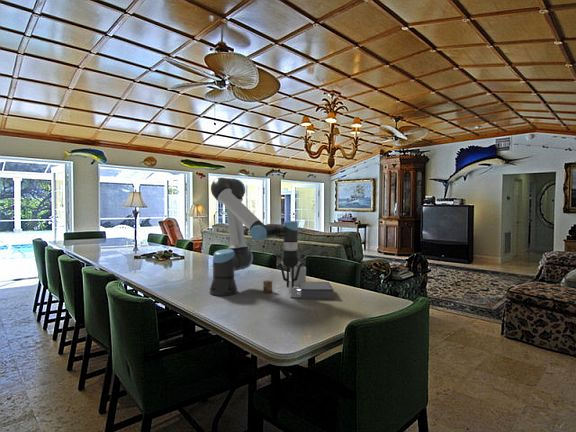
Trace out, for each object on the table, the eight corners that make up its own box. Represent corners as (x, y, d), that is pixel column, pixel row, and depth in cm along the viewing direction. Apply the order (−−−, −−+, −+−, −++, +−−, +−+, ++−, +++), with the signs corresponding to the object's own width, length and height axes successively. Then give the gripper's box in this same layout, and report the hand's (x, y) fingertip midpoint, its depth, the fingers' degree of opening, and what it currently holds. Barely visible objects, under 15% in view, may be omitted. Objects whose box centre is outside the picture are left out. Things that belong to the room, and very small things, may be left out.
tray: (291, 297, 181) (291, 290, 181) (290, 289, 197) (290, 283, 197) (323, 297, 182) (323, 290, 181) (319, 290, 198) (319, 283, 197)
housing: (301, 298, 180) (301, 289, 180) (299, 290, 198) (299, 281, 198) (333, 298, 181) (333, 289, 181) (328, 290, 199) (328, 281, 199)
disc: (294, 293, 186) (294, 290, 186) (297, 289, 194) (297, 287, 194) (309, 294, 184) (309, 291, 184) (311, 291, 192) (311, 288, 192)
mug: (308, 285, 211) (308, 267, 210) (298, 287, 205) (299, 269, 204) (295, 281, 219) (295, 264, 219) (285, 283, 214) (285, 266, 213)
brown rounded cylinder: (263, 293, 190) (263, 282, 190) (263, 290, 195) (263, 280, 195) (272, 293, 190) (272, 282, 190) (272, 290, 195) (272, 280, 195)
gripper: (278, 250, 179) (277, 295, 180) (303, 250, 179) (302, 295, 180) (278, 248, 187) (278, 291, 187) (302, 249, 187) (301, 291, 188)
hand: (290, 293), depth 184 cm, fingers closed
